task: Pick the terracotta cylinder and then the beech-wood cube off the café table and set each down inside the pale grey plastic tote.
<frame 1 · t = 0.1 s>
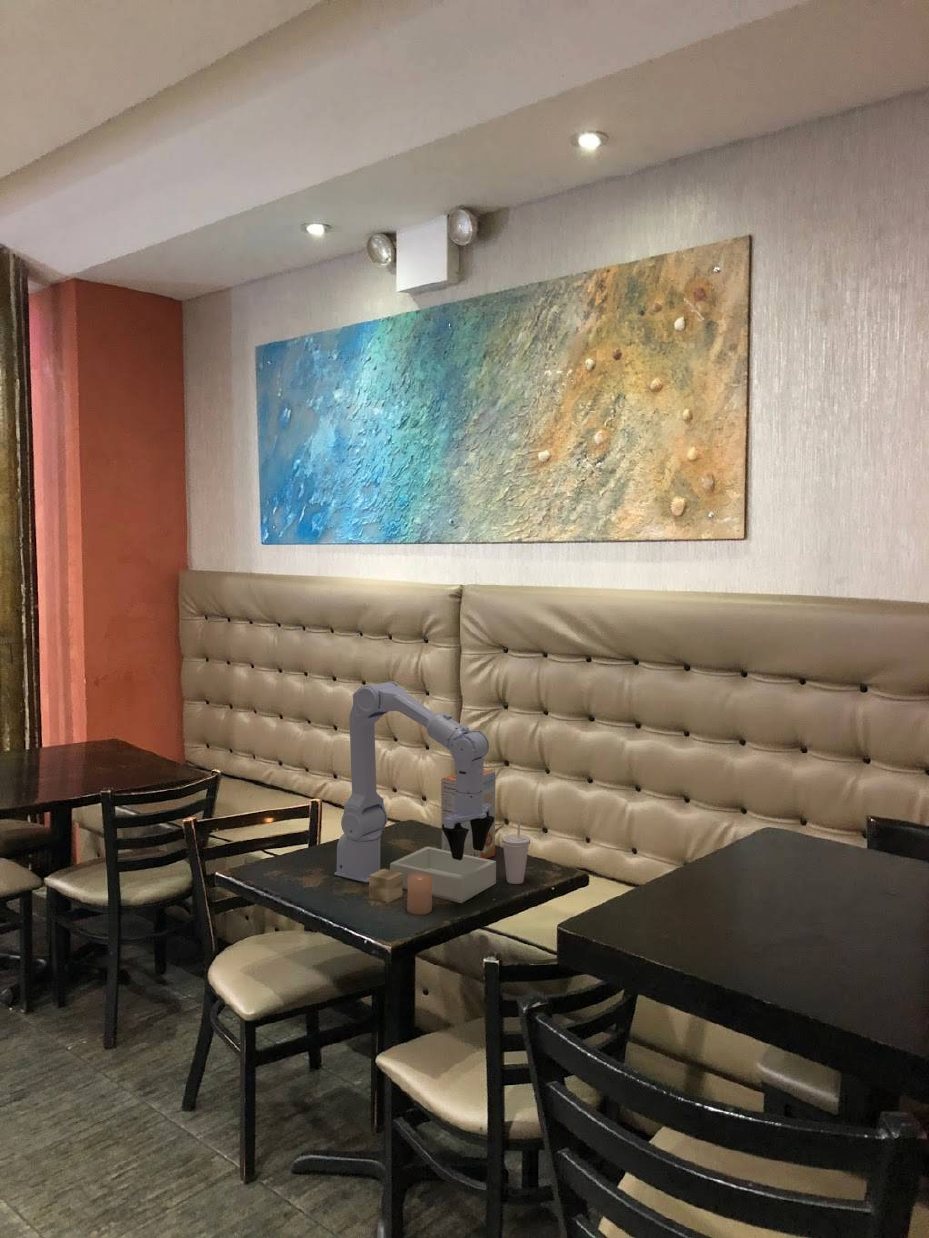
hand: (467, 854, 199), 10 cm above the table, fingers open, 7 cm apart
tote: (443, 884, 209), on the table
cracker box: (467, 861, 226), on the table
smoothie: (515, 881, 212), on the table
cylinder: (419, 909, 195), on the table
cube: (385, 897, 201), on the table
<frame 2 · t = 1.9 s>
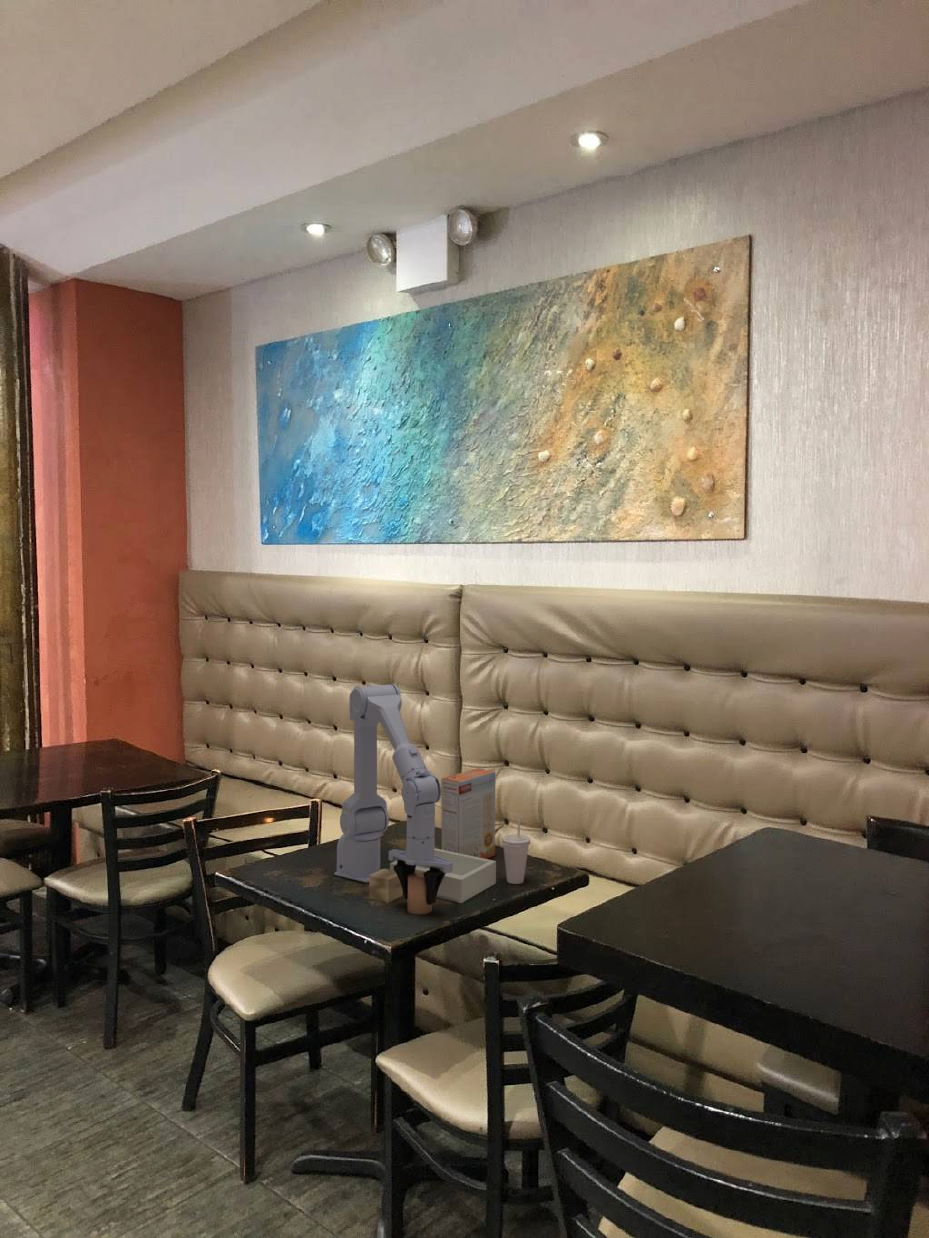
hand: (419, 900, 194), 2 cm above the table, fingers closed on cylinder, 5 cm apart
cylinder: (419, 909, 195), on the table, touching gripper
everything else where it was.
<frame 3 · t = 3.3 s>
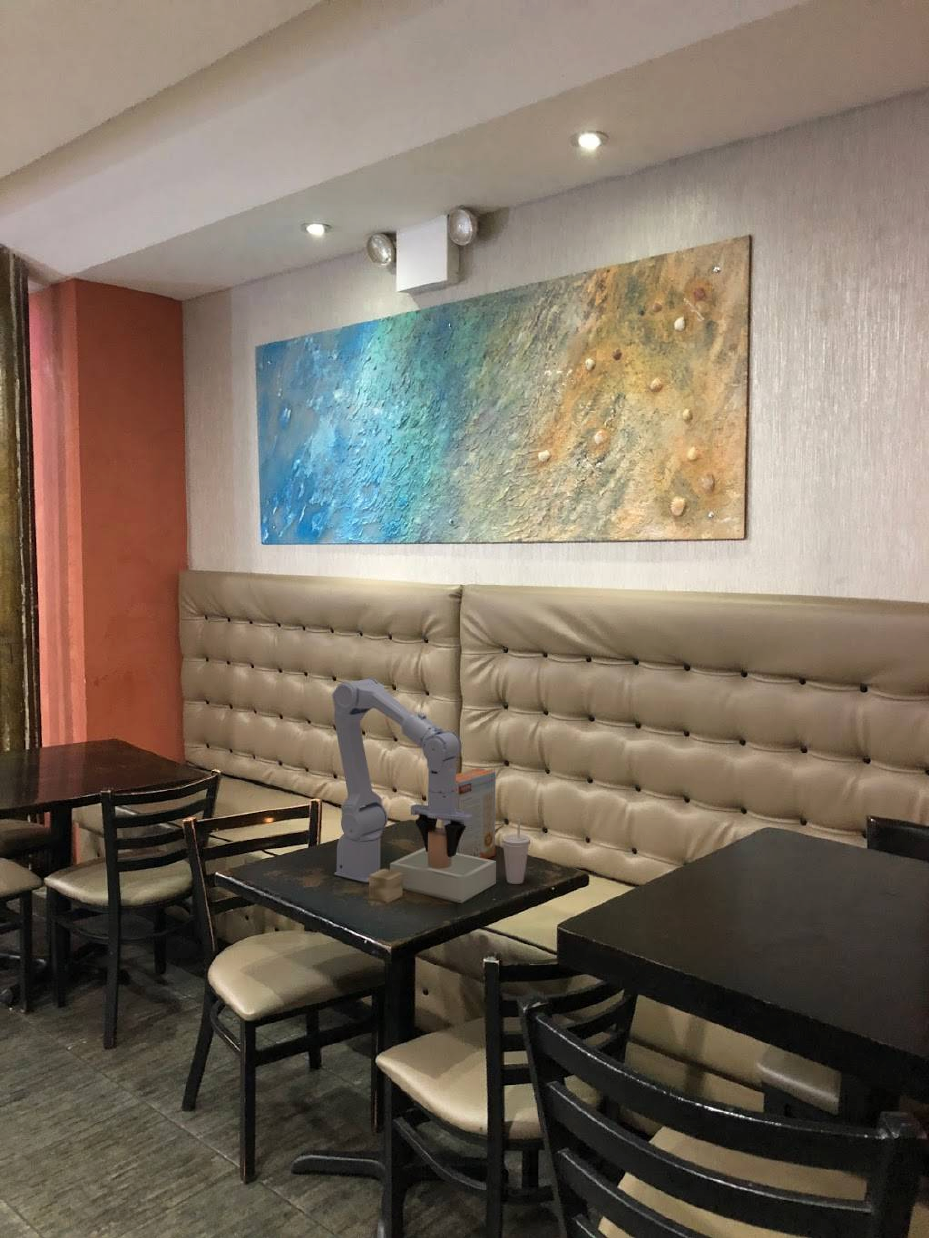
hand: (440, 853, 201), 9 cm above the table, fingers closed on cylinder, 5 cm apart
cylinder: (439, 864, 201), point 7 cm above the table, touching gripper
everything else where it was.
when the fingers open (5 cm above the table, at t = 4.9 s): cylinder drops 2 cm, resting on tote.
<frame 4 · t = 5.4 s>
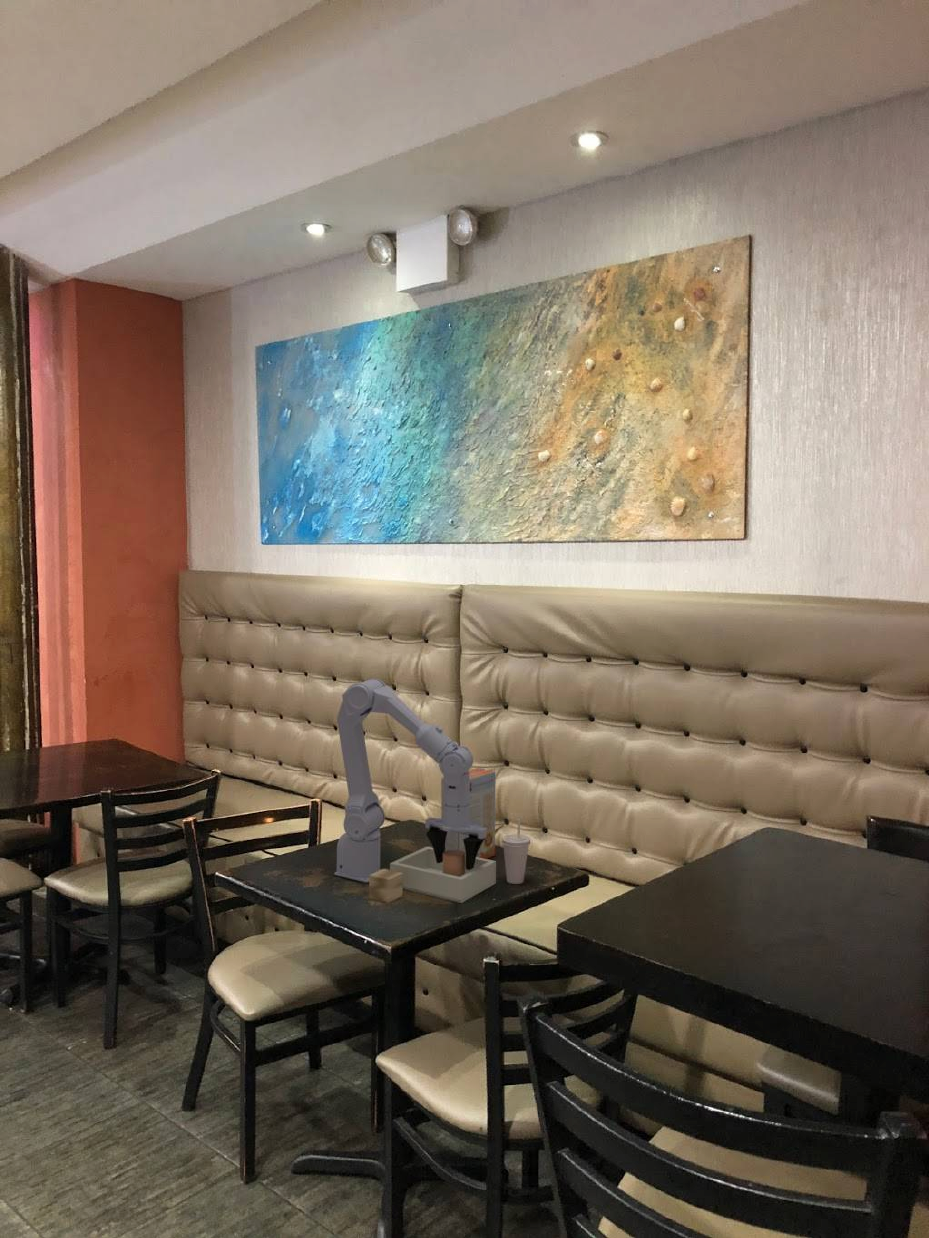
hand: (455, 865, 207), 5 cm above the table, fingers open, 7 cm apart
cylinder: (453, 884, 207), point 1 cm above the table, touching tote
everything else where it was.
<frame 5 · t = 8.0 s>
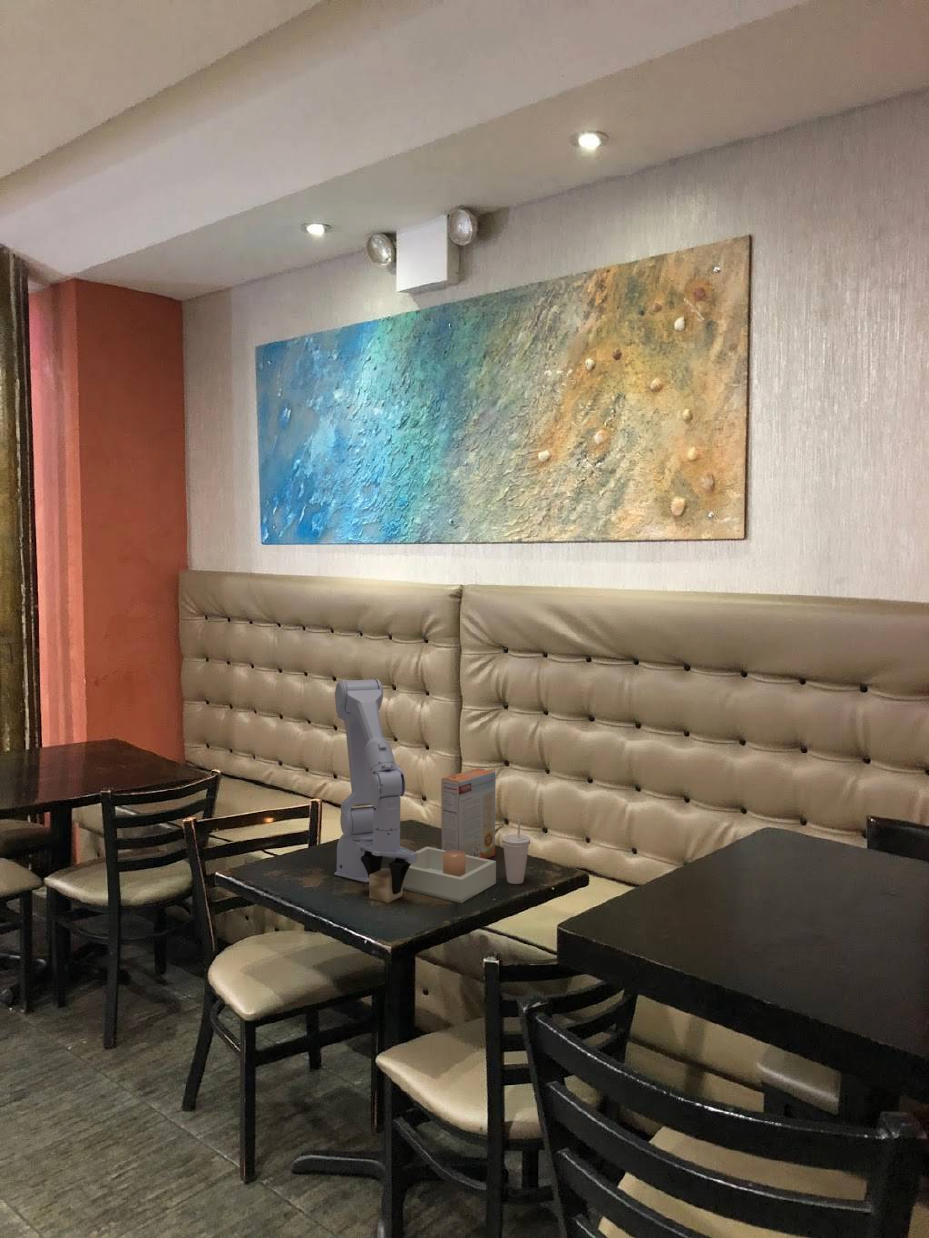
hand: (385, 890, 201), 1 cm above the table, fingers closed on cube, 5 cm apart
cube: (385, 896, 201), on the table, touching gripper
everything else where it was.
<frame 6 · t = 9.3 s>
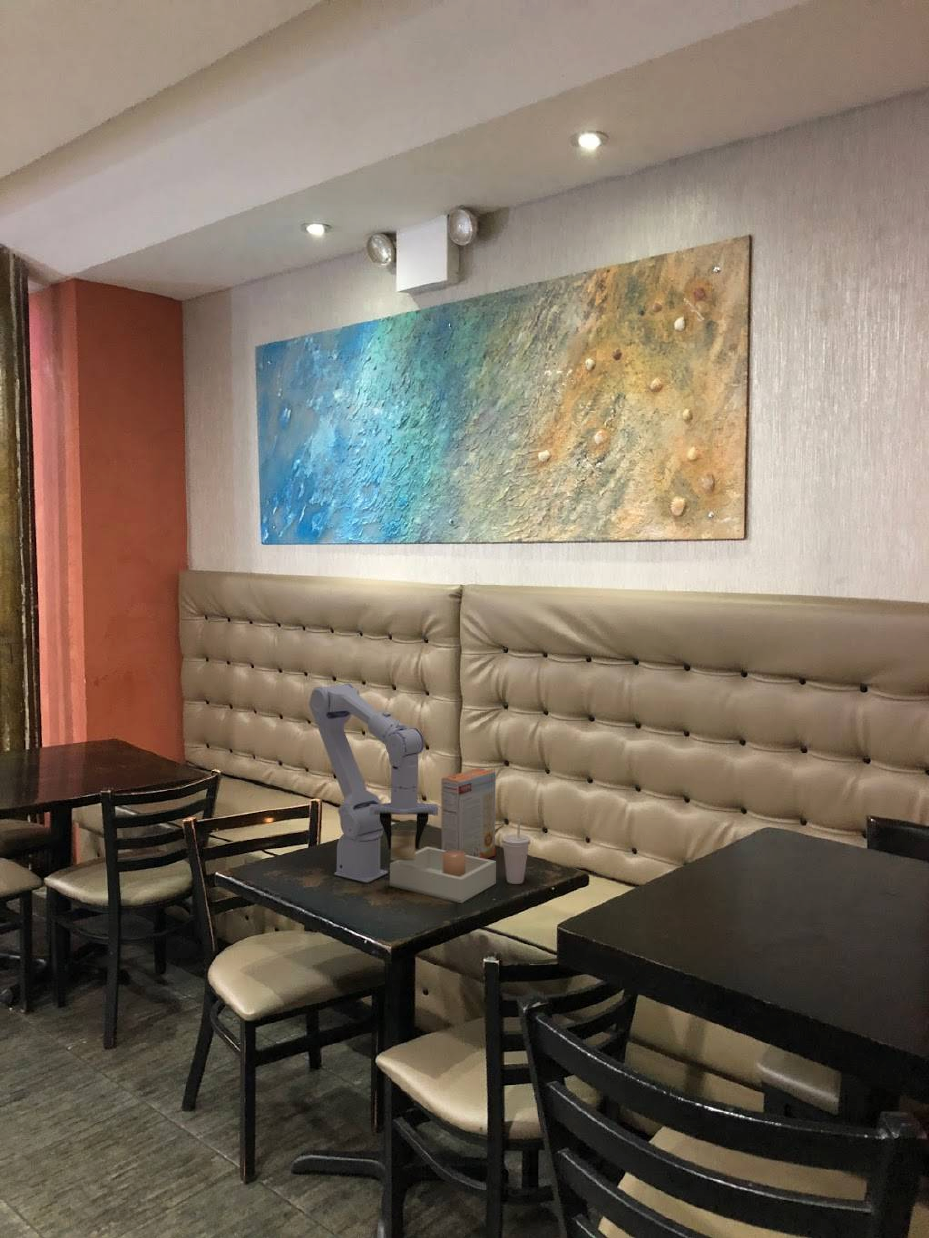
hand: (403, 847, 205), 9 cm above the table, fingers closed on cube, 5 cm apart
cube: (403, 856, 205), point 8 cm above the table, touching gripper
everything else where it was.
when the fingers open (4 cm above the table, at t = 11.0 s): cube drops 2 cm, resting on tote.
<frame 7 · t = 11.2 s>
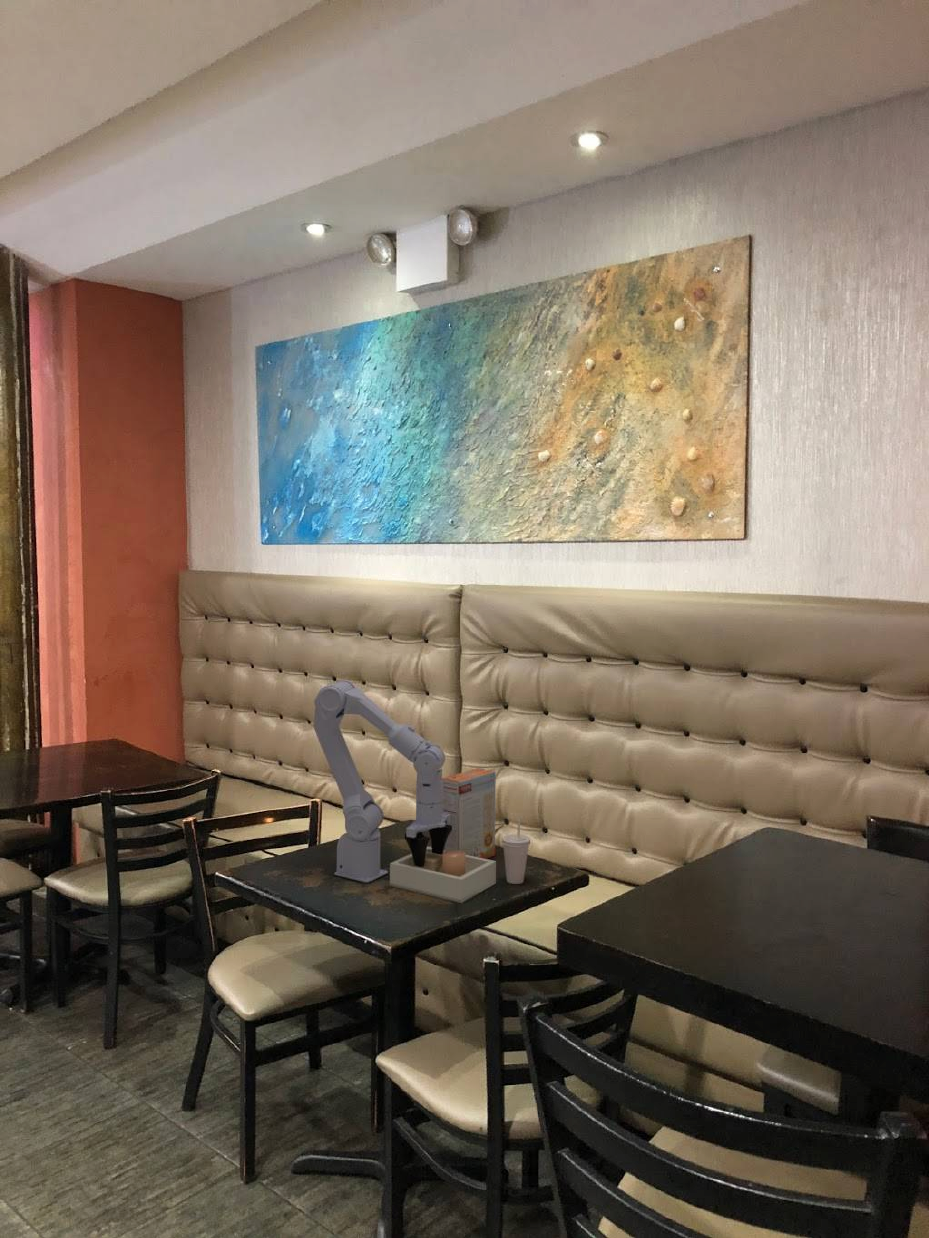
hand: (428, 861, 211), 4 cm above the table, fingers open, 7 cm apart
cube: (429, 878, 211), point 1 cm above the table, touching tote
everything else where it was.
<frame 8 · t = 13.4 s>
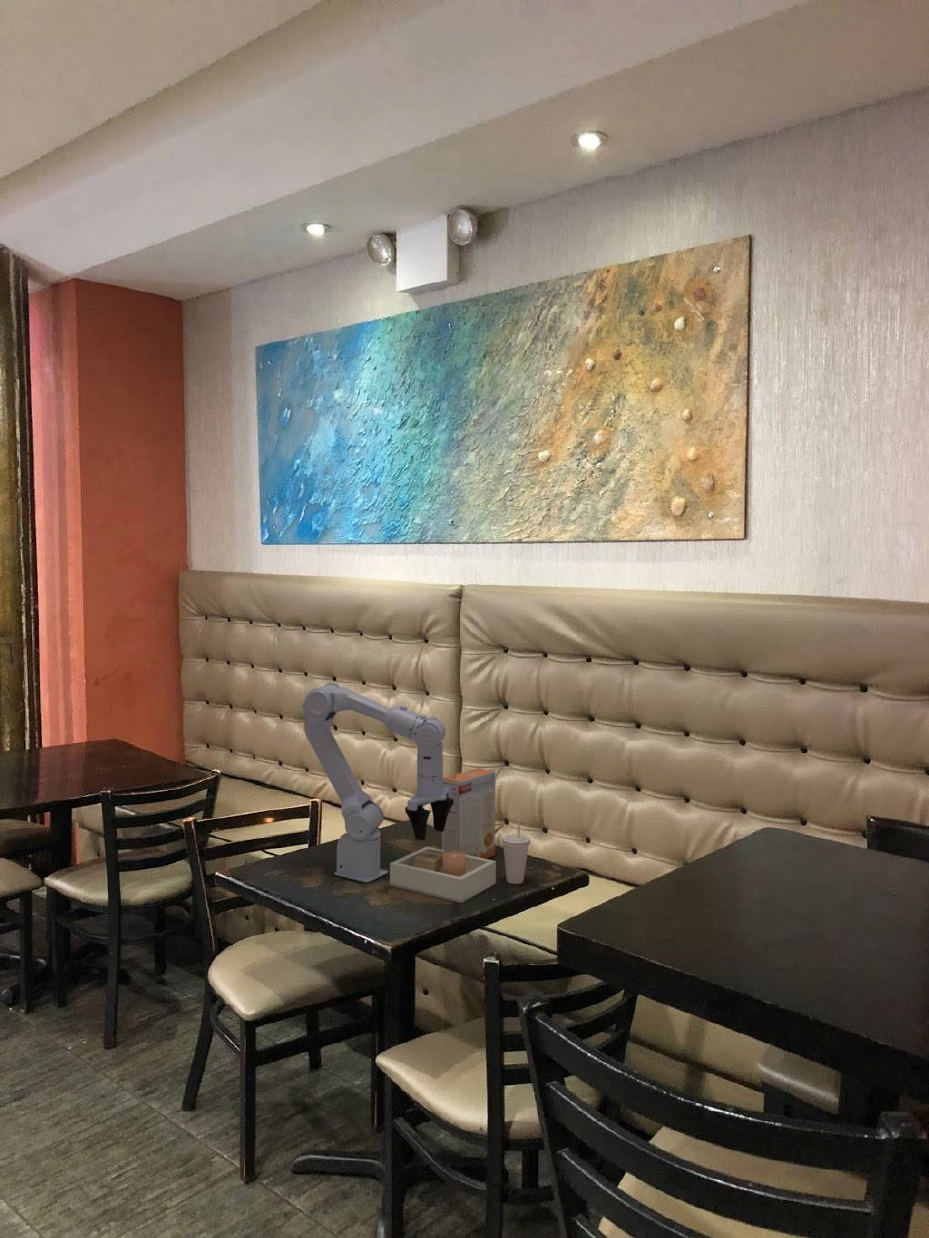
hand: (429, 835, 211), 10 cm above the table, fingers open, 7 cm apart
nothing on the table moved.
at the end: cylinder inside the target area on the tote (3.0 cm from its centre), point 0.6 cm above the tote's base; cube inside the target area on the tote (3.6 cm from its centre), point 0.6 cm above the tote's base; the gripper is holding nothing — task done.
